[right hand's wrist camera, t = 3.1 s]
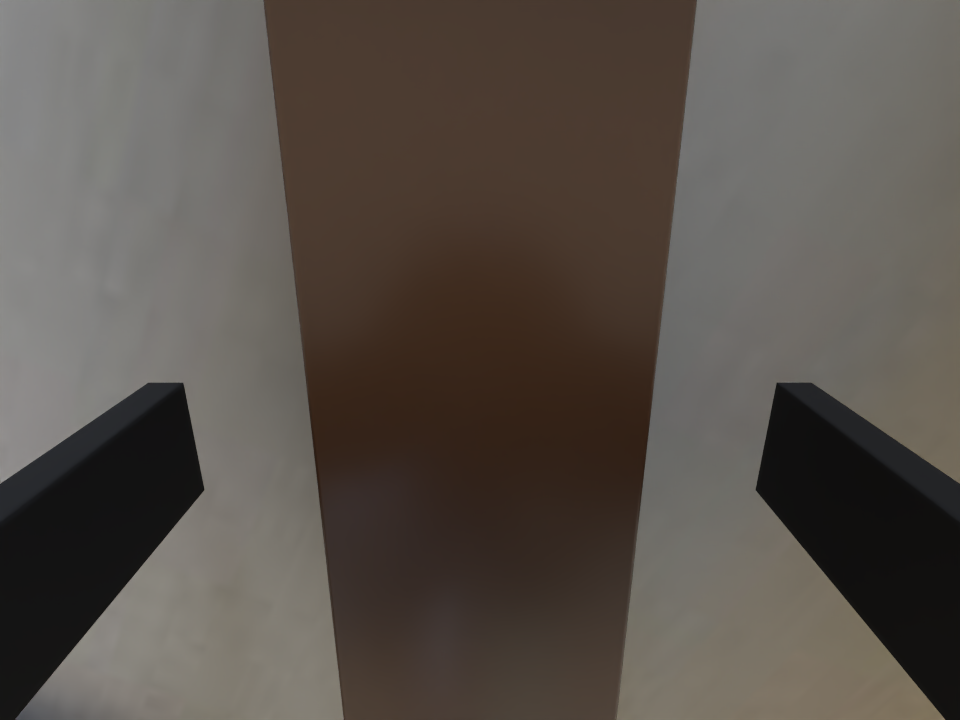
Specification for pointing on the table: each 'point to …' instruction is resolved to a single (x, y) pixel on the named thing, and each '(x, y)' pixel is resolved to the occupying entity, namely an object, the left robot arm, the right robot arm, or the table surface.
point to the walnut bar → (480, 332)
